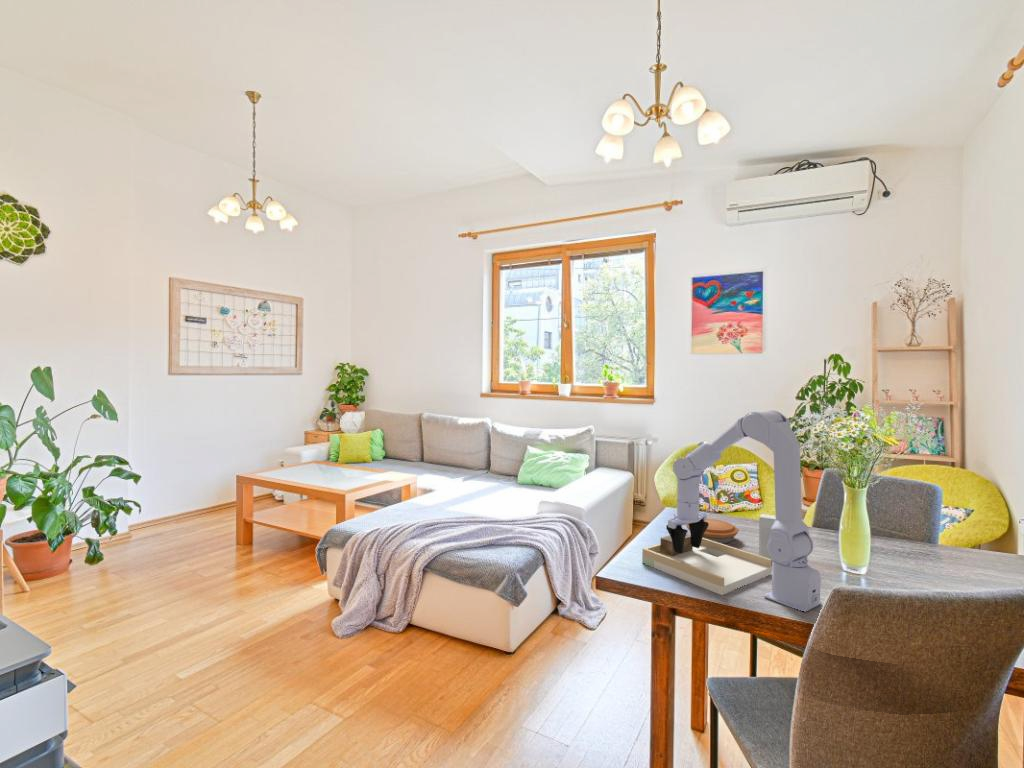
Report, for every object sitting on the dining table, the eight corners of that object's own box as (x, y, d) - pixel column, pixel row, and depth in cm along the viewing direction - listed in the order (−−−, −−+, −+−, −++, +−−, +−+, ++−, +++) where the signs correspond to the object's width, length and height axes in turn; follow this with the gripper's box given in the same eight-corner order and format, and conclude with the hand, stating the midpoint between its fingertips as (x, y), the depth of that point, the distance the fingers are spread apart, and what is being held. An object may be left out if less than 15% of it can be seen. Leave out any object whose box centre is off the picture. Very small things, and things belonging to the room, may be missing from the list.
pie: (730, 550, 152) (731, 533, 152) (678, 539, 162) (679, 523, 161) (743, 537, 164) (744, 521, 164) (694, 527, 174) (695, 512, 174)
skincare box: (783, 558, 146) (784, 516, 145) (782, 563, 142) (783, 520, 142) (759, 554, 149) (760, 513, 148) (758, 559, 145) (759, 516, 145)
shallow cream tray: (771, 574, 134) (771, 559, 134) (721, 595, 122) (722, 578, 121) (691, 547, 154) (692, 534, 154) (642, 563, 141) (642, 548, 141)
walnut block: (692, 549, 146) (692, 536, 146) (672, 556, 141) (672, 541, 141) (680, 545, 149) (680, 532, 149) (660, 552, 144) (660, 537, 144)
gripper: (691, 494, 149) (690, 540, 150) (659, 501, 141) (658, 550, 141) (713, 499, 144) (712, 547, 144) (680, 507, 135) (680, 558, 136)
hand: (687, 549), depth 142 cm, fingers open, 7 cm apart
